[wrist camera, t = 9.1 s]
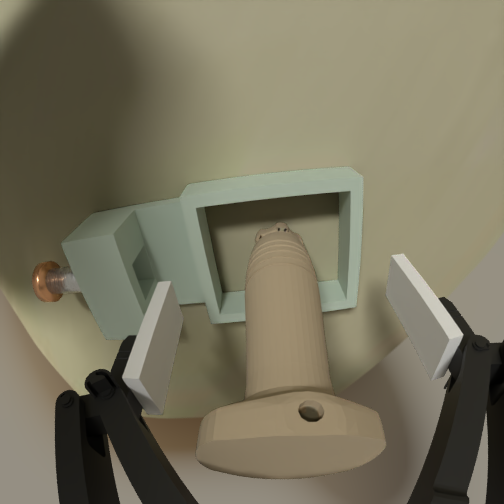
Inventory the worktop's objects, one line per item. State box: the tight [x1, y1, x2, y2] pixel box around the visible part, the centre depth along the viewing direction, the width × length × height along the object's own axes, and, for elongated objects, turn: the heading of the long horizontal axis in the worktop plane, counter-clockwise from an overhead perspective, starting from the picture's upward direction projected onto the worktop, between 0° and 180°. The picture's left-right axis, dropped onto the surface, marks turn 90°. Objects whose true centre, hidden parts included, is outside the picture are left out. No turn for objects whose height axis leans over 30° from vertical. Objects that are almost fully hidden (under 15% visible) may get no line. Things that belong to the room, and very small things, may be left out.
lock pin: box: [32, 261, 81, 302], centre depth 20 cm, size 3×7×3 cm, turn 97°
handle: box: [195, 222, 386, 479], centre depth 15 cm, size 5×6×15 cm
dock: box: [61, 167, 363, 340], centre depth 19 cm, size 10×18×5 cm, turn 97°
